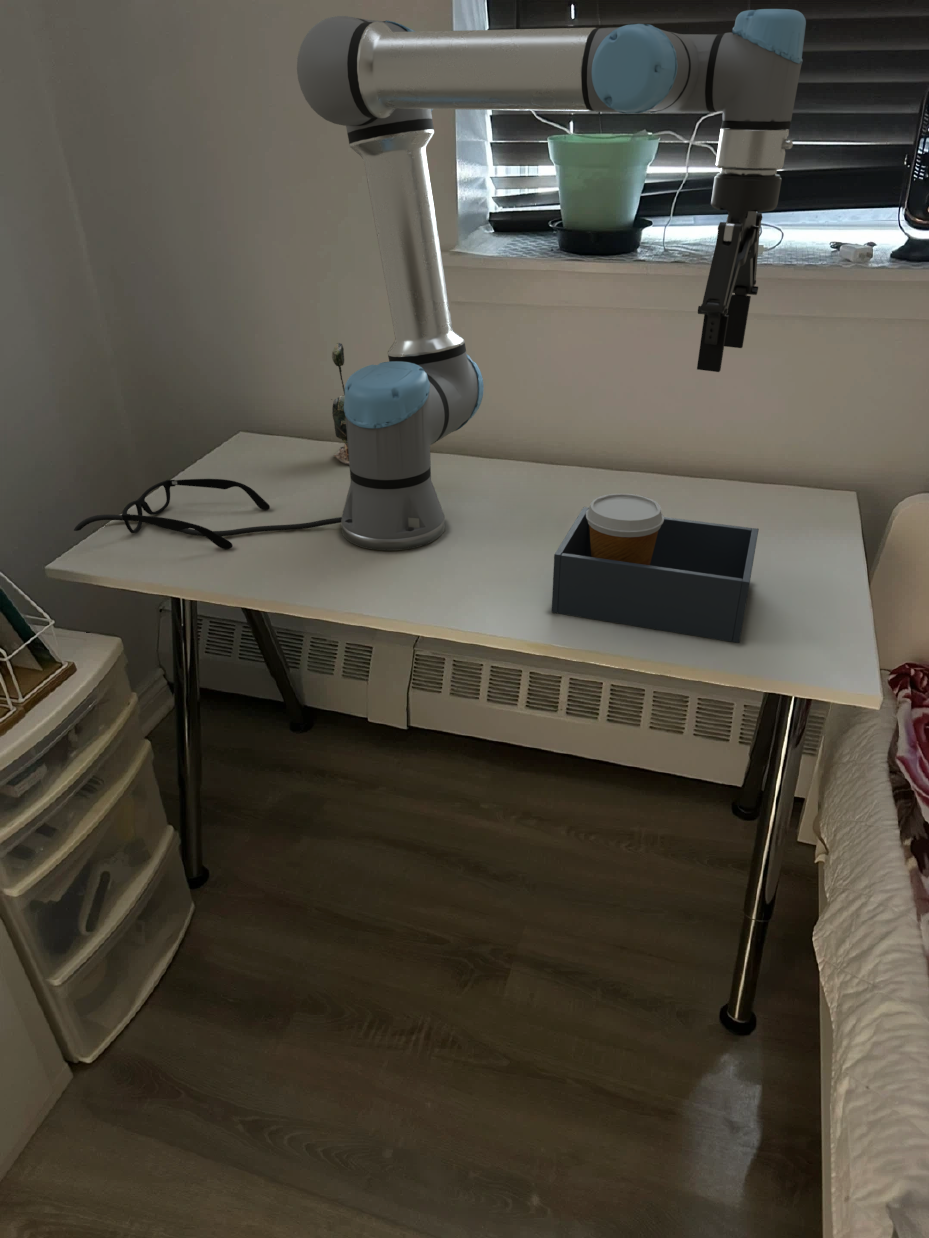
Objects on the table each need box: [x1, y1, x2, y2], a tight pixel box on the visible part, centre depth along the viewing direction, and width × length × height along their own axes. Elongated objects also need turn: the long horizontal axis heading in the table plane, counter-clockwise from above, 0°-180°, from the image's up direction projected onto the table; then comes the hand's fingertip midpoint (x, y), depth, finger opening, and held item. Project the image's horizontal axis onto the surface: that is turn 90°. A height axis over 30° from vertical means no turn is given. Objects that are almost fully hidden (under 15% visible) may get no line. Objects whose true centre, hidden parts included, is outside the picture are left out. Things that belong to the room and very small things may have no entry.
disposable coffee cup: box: [586, 492, 665, 565], centre depth 111 cm, size 10×10×12 cm
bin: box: [551, 506, 759, 644], centre depth 111 cm, size 23×16×8 cm
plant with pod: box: [330, 342, 349, 465], centre depth 154 cm, size 8×11×20 cm
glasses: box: [121, 478, 271, 550], centre depth 133 cm, size 17×18×5 cm
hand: (720, 358), depth 113 cm, fingers open, 13 cm apart
